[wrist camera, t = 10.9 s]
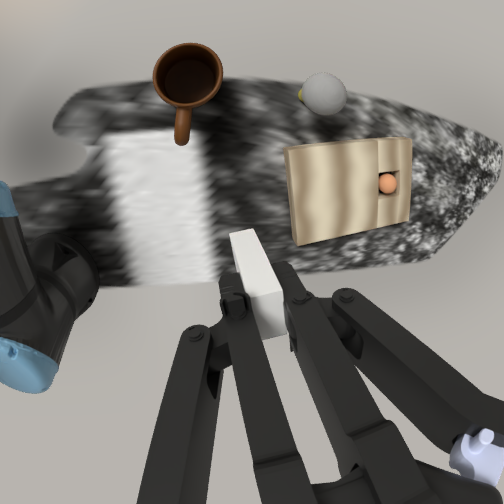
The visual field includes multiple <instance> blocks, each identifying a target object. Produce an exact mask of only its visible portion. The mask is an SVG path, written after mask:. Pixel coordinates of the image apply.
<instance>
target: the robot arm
mask: <svg viewBox="0 0 504 504" xmlns="http://www.w3.org/2000/svg"><path fill="white" fill-rule="evenodd" d="M18 216H19V214H18V211H16V209H15V206H14V203H13V200H12V196H11V193H10V189H9V187H8V186H7V184H6V183H4V182H3V181H0V382H1V383H3V384H5V385H7V386H9V387H11V388H13V389H16V390H19V391H22V392H25V393H32V394H33V393H34V394H37V393H42V392H44V391H46V390H47V389H48V388H49V387H50V386H51V384H52V382H53V379H54V376H55V374H56V373H57V372H58V369H59V364H60V361H61V358H62V355H63V352H64V349H65V346H66V343H67V340H68V337H69V335H70V331H71V329H72V326H73V324H74V321H75V320H76V319H77V318H78V317H79V316H80V315H81V314H83V313H84V312H85V311H86V310H87V309H88V308H89V307H90V306H91V305H92V303H93V301H94V299H95V297H96V294H97V292H98V289H99V273H98V269H97V266H96V264H95V262H94V260H93V258H92V257H91V255H90V254H89V253H88V251H87V250H86V249H85V248H84V247H83V246H82V245H81V244H80V243H78V242H77V241H75V240H74V239H72V238H70V237H68V236H66V235H62V234H57V233H48V234H44V235H42V236H40V237H38V238H37V239H35V240H34V241H33V242H32V243H31V245H30V246H29V247H28V248H27V245H26V242H25V239H24V236H23V232H22V229H21V226H20V222H19V219H18ZM229 235H230V240H231V245H232V249H233V254H234V259H235V264H236V269H237V273H233V274H229V275H224V276H221V278H220V280H219V282H218V283H219V289H220V294H221V299H220V307H221V311H222V314H223V317H222V319H221V320H220V321H219V322H218V323H217V324H215V325H214V326H212V327H210V328H208V327H206V326H204V325H193V326H191V327H188V328H187V329H186V330H185V331H183V333H182V335H181V338H180V341H179V344H178V348H177V351H176V354H175V357H174V361H173V365H172V368H171V371H170V375H169V378H168V382H167V385H166V389H165V392H164V396H163V399H162V403H161V406H160V410H159V414H158V417H157V421H156V425H155V429H154V433H153V437H152V441H151V444H150V448H149V452H148V456H147V460H146V465H145V469H144V473H143V477H142V481H141V486H140V490H139V495H138V499H137V504H206V500H207V492H208V484H209V476H210V468H211V460H212V453H213V446H214V438H215V431H216V423H217V416H218V408H219V402H220V394H221V387H222V380H223V373H224V370H223V369H225V368H227V367H229V366H230V365H232V366H233V371H234V376H235V381H236V386H237V391H238V395H239V401H240V405H241V410H242V415H243V419H244V423H245V428H246V433H247V437H248V442H249V445H250V450H251V455H252V458H253V468H254V473H255V478H256V482H257V486H258V490H259V494H260V498H261V502H262V504H503V501H502V497H501V494H500V492H499V491H498V490H497V489H496V488H495V487H496V485H497V482H498V480H499V478H500V475H501V472H502V470H503V467H504V401H502V400H499V399H497V398H494V397H491V396H489V395H486V394H484V393H482V392H481V391H480V390H479V389H478V388H477V387H475V386H474V385H473V384H472V383H471V382H469V381H468V380H467V379H466V378H465V377H464V376H462V375H461V374H460V373H459V372H458V371H457V370H455V369H454V368H453V367H451V365H449V364H448V363H447V362H446V361H445V360H443V359H442V358H441V357H440V356H439V355H437V354H436V353H435V352H434V351H432V350H431V349H430V348H429V347H428V346H426V345H425V344H424V343H422V342H421V341H420V340H419V339H417V338H416V337H415V336H414V335H413V334H411V333H410V332H409V331H408V330H406V329H405V328H404V327H403V326H401V325H400V324H399V323H398V322H396V321H395V320H394V319H393V318H391V317H390V316H389V315H387V314H386V313H385V312H384V311H382V310H381V309H380V308H378V307H377V306H376V305H374V304H373V303H372V302H371V301H369V300H368V299H367V298H365V297H364V296H363V295H362V294H360V293H359V292H358V291H356V290H354V289H351V288H341V289H338V290H337V291H335V292H334V293H333V295H332V298H318V297H315V296H314V295H313V294H312V293H311V292H309V291H306V289H305V287H304V286H303V284H302V283H301V281H300V279H299V277H298V276H297V274H296V272H295V271H294V269H293V267H292V265H291V264H289V263H287V262H286V261H283V262H278V263H274V264H270V263H269V260H268V258H267V256H266V254H265V252H264V250H263V248H262V246H261V244H260V242H259V240H258V238H257V235H256V233H255V231H254V229H248V230H243V231H239V232H234V233H230V234H229ZM286 328H287V329H286ZM287 330H288V332H289V338H290V350H291V352H292V351H294V353H295V356H296V358H297V360H298V363H299V366H300V368H301V371H302V373H303V375H304V378H305V380H306V383H307V385H308V388H309V390H310V393H311V395H312V398H313V400H314V403H315V405H316V408H317V410H318V413H319V415H320V418H321V420H322V423H323V425H324V428H325V430H326V433H327V435H328V438H329V440H330V442H331V445H332V448H333V450H334V453H335V455H336V457H337V461H338V468H339V472H340V475H341V479H340V480H338V481H336V482H330V483H321V484H310V481H309V478H308V475H307V472H306V469H305V466H304V463H303V461H302V458H301V456H300V454H299V452H298V450H297V448H296V444H295V442H294V439H293V435H292V432H291V429H290V426H289V423H288V420H287V417H286V414H285V411H284V408H283V405H282V402H281V399H280V396H279V393H278V390H277V387H276V383H275V381H274V377H273V374H272V371H271V368H270V364H269V361H268V358H267V355H266V352H265V349H264V346H263V342H262V340H265V339H269V338H273V337H277V336H281V335H285V334H287ZM355 366H356V367H357V368H358V369H359V370H360V371H361V372H362V373H363V374H365V376H366V377H367V378H368V379H369V380H370V381H371V382H372V383H373V384H374V385H375V386H376V387H377V388H378V389H379V390H380V391H381V392H382V393H383V394H384V395H385V396H386V397H387V398H388V399H389V400H390V401H391V402H392V403H393V404H394V405H395V406H396V407H397V408H398V409H399V410H400V411H401V412H402V413H403V414H404V415H405V416H406V417H407V418H408V419H409V420H410V421H411V422H412V423H413V424H414V425H415V426H416V427H417V428H418V429H419V430H420V431H421V432H422V433H423V434H424V435H425V436H426V437H427V438H428V439H429V440H430V441H431V442H432V443H433V444H434V445H436V446H437V447H438V448H440V449H441V450H443V451H444V452H446V453H448V454H450V461H449V465H450V467H451V468H453V469H456V470H458V471H459V472H460V474H461V476H460V475H457V474H454V473H451V472H448V471H445V470H442V469H440V468H437V467H434V466H432V465H429V464H426V463H424V462H421V461H419V460H415V459H414V458H413V456H412V454H411V452H410V450H409V448H408V446H407V445H406V443H405V441H404V439H403V437H402V435H401V433H400V432H399V430H398V428H397V426H396V425H395V424H394V423H393V422H392V421H391V420H386V419H385V418H384V417H383V415H382V414H381V412H380V410H379V408H378V406H377V405H376V403H375V401H374V399H373V397H372V395H371V394H370V392H369V390H368V388H367V386H366V385H365V383H364V381H363V379H362V378H361V376H360V374H359V372H358V370H357V369H356V367H355Z"/></svg>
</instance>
